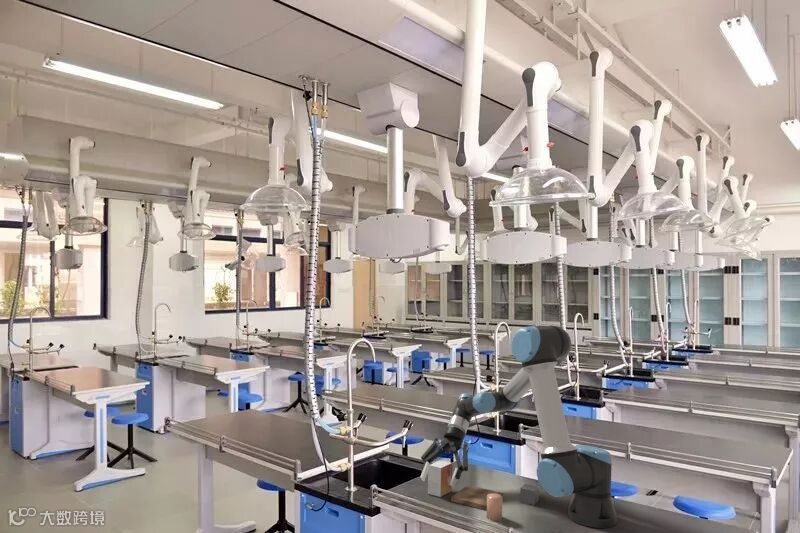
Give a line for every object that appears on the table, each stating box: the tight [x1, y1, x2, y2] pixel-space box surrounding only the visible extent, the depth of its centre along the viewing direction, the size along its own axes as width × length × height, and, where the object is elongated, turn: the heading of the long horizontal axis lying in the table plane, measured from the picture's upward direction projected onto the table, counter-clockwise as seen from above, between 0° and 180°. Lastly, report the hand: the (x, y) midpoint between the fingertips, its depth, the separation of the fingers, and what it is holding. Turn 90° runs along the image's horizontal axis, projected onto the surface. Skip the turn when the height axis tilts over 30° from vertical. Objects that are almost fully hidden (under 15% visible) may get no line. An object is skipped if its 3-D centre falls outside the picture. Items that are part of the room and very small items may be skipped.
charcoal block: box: [519, 483, 540, 506], centre depth 199 cm, size 5×5×5 cm
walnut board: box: [450, 484, 504, 511], centre depth 199 cm, size 14×14×2 cm
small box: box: [427, 459, 453, 498], centre depth 205 cm, size 8×6×10 cm
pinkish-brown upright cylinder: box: [486, 493, 503, 522], centre depth 184 cm, size 5×5×7 cm
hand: (436, 482), depth 203 cm, fingers open, 11 cm apart
